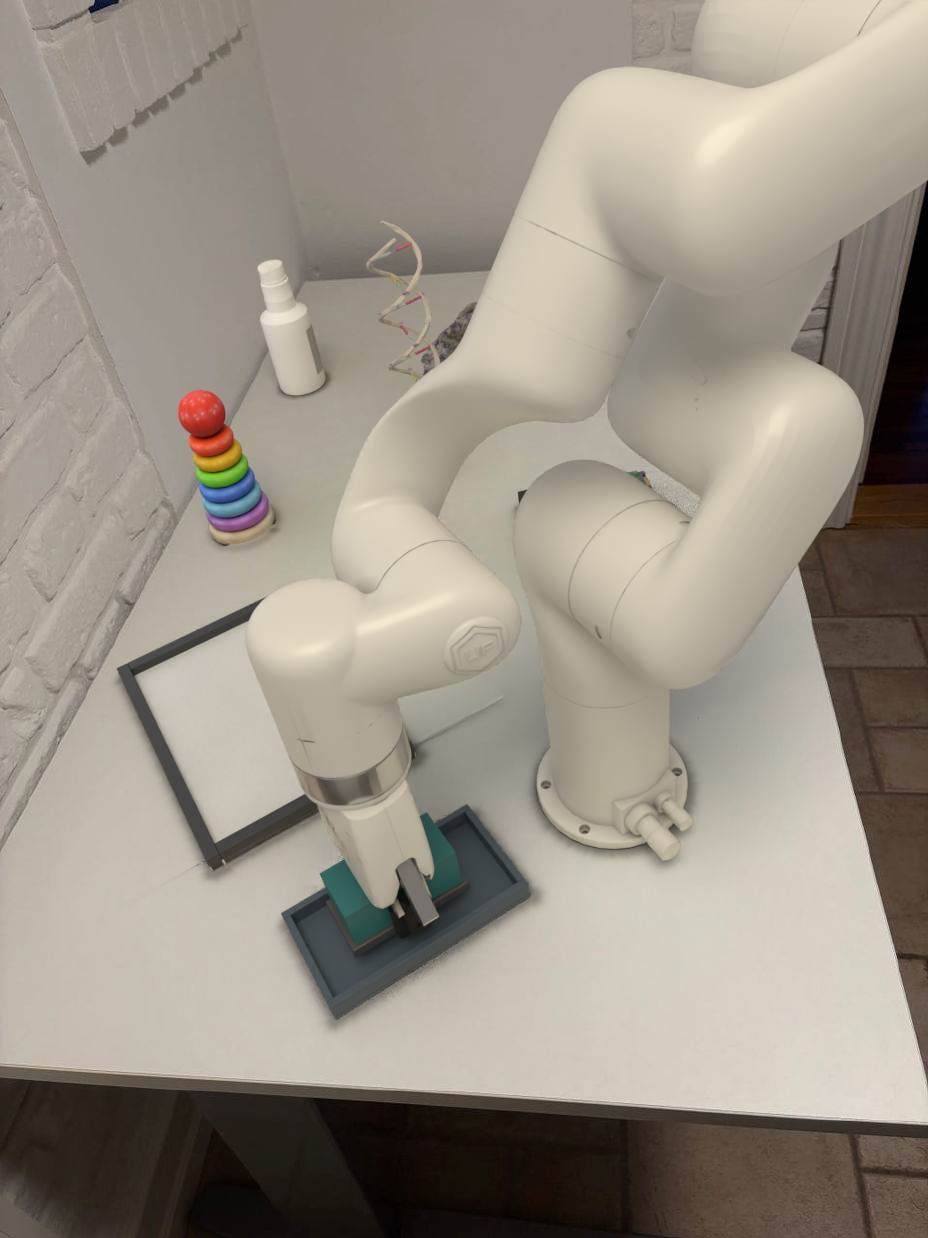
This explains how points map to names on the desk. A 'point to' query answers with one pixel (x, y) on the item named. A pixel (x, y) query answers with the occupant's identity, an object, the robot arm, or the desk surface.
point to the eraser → (375, 924)
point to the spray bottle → (289, 333)
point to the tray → (395, 958)
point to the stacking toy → (223, 472)
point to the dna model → (405, 293)
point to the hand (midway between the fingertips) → (399, 897)
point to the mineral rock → (449, 338)
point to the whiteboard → (218, 739)
